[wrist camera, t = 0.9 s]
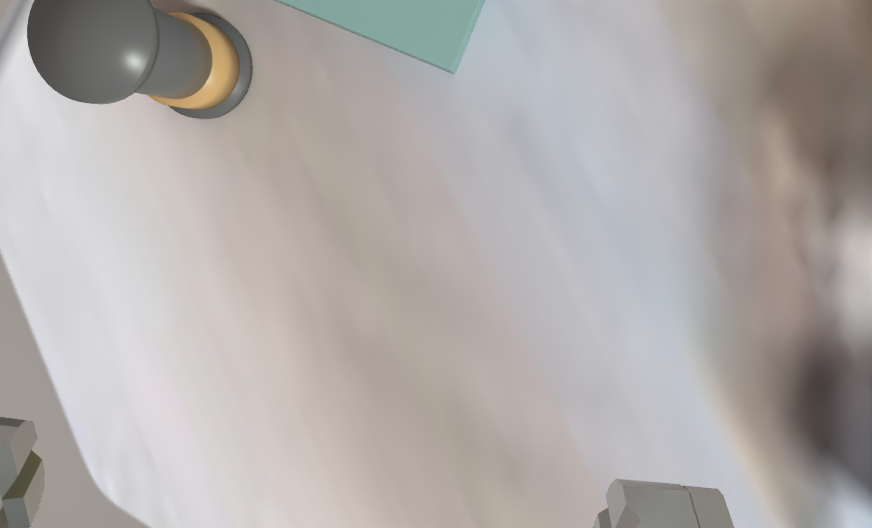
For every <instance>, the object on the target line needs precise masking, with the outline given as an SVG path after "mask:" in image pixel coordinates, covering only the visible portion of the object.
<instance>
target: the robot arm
mask: <svg viewBox="0 0 872 528" xmlns="http://www.w3.org/2000/svg"><path fill="white" fill-rule="evenodd" d="M36 440H37V435H36V431H35V428H34V424H33V422H32V421H27V420H19V419H12V418H4V417H0V528H29V527H30V526H31V524H32V522H33V520H34V518H35V515H36V513H37V511H38V509H39V505H40V501H41V497H42V493H43V489H44V467H43V462H42V459H41V458H40V457H39V456H38V455H36V454H35V453H34V452H33V451H32V450H31V449H32V447H33V445H34V444H35V442H36ZM606 498H607V504H608V508H607V509H605V510H603V511H602V512H600V513H598V515H597V517H596V520H595V523H594V525H593V528H734V526H733V523H732V520H731V517H730V514H729V511H728V508H727V505H726V502H725V499H724V496H723V495H722V493H721V492H720V491H719V490H718V489H712V488H702V487H693V486H681V485H680V484H668V483H657V482H646V481H634V480H623V479H615V480H614V481H613V482H612V483H611V484H610V486H609V489H608V491H607V493H606Z"/></svg>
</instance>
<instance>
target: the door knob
mask: <svg viewBox="0 0 872 528" xmlns="http://www.w3.org/2000/svg"><path fill="white" fill-rule="evenodd" d="M27 38H28V46H29V50H30V54H31V57H32V60H33V63H34V65H35V67H36V69H37V70H38V72H39V73H40V75H41V76H42V78H43V79H44V80H45V81H46V82H47V84H48V85H49V86H51V87H52V88H53V89H54V90H55V91H57V92H58V93H60V94H61V95H63V96H65V97H67V98H69V99H72V100H75V101H79V102H84V103H91V104H109V103H114V102H117V101H120V100H123V99H125V98H127V97H128V96H130V95H132V94H133V93H134V92H135V93H140V94H146V95H148V96H150V97H151V98H152V99H154V100H155V101H157V102H159V103H162V104H164V105H168V106H169V107H170V108H172V109H173V110H174V111H176V112H178V113H180V114H182V115H185V116H188V117H192V118H199V119H212V118H216V117H220V116H222V115H225V114H227V113H228V112H230V111H231V110H233V109H234V108H235V107H236V106H237V105H238V104H239V103H240V102H241V101H242V99H243V98H244V96H245V95H246V93H247V91H248V89H249V86H250V83H251V78H252V68H253V67H252V58H251V53H250V50H249V47H248V45H247V43H246V41H245V40H244V38H243V36H242V35H241V34H240V33H239V32H238V30H237V29H236V28H234V27H233V26H232V25H231V24H229V23H228V22H226V21H224V20H222V19H220V18H218V17H215V16H212V15H209V14H202V13H195V14H186V13H181V12H168V13H165V12H162V11H160V10H157V9H155V8H153V7H152V5H151V3H150V1H149V0H34V2H33V5H32V8H31V10H30V14H29V18H28V26H27Z"/></svg>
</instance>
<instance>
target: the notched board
mask: <svg viewBox="0 0 872 528" xmlns="http://www.w3.org/2000/svg"><path fill="white" fill-rule="evenodd" d="M275 1H277V2H280V3H282V4H284V5H287V6H289V7H292V8H294V9H297V10H299V11H301V12H304V13H306V14H309V15H311V16H314V17H316V18H319V19H321V20H323V21H326V22H328V23H331V24H333V25H336V26H338V27H340V28H343V29H345V30H348V31H350V32H353V33H355V34H357V35H360V36H362V37H365V38H367V39H370V40H372V41H374V42H377V43H379V44H382V45H384V46H387V47H389V48H391V49H394V50H396V51H399V52H401V53H404V54H406V55H408V56H411V57H413V58H416V59H418V60H421V61H423V62H425V63H428V64H430V65H433V66H435V67H438V68H440V69H442V70H445V71H447V72H450V73H452V74H455V72H456V70H457V67H458V65H459V62H460V60H461V58H462V55H463V53H464V50H465V48H466V45H467V43H468V40H469V38H470V35H471V33H472V30H473V28H474V25H475V23H476V20H477V18H478V16H479V13H480V11H481V8H482V6H483V3H484V1H485V0H275Z"/></svg>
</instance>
